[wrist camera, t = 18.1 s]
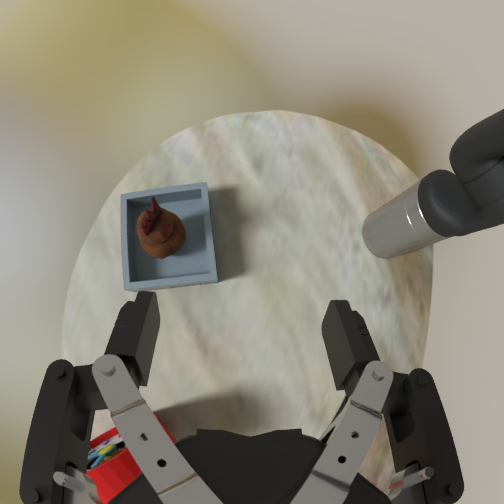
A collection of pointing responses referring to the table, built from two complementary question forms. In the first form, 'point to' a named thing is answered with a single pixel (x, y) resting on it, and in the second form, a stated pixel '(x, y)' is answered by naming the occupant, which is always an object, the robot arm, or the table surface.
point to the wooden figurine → (160, 231)
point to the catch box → (186, 257)
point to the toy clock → (112, 463)
